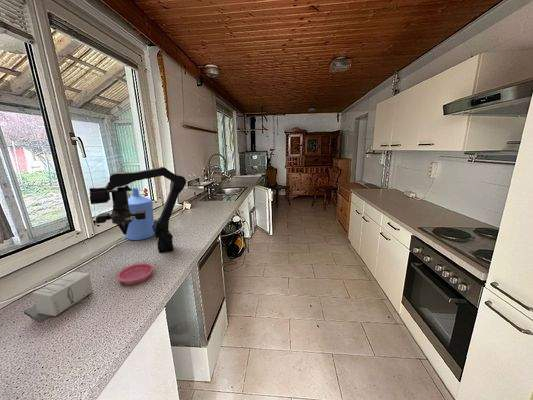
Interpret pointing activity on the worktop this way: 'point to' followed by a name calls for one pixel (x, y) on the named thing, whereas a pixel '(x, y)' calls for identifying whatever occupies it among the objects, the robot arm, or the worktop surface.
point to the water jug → (143, 226)
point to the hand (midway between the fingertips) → (125, 234)
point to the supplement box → (62, 293)
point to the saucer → (135, 274)
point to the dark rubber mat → (38, 316)
